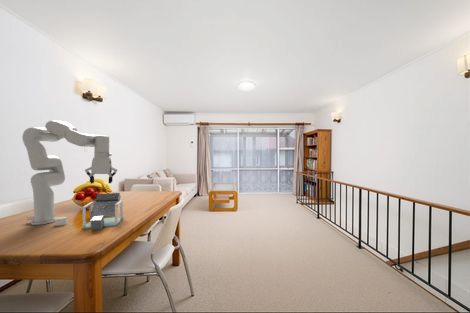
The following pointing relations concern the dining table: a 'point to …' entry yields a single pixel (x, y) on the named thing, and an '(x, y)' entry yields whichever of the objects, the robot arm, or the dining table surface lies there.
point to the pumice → (60, 221)
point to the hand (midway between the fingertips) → (101, 183)
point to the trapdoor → (105, 205)
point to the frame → (107, 221)
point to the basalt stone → (97, 222)
